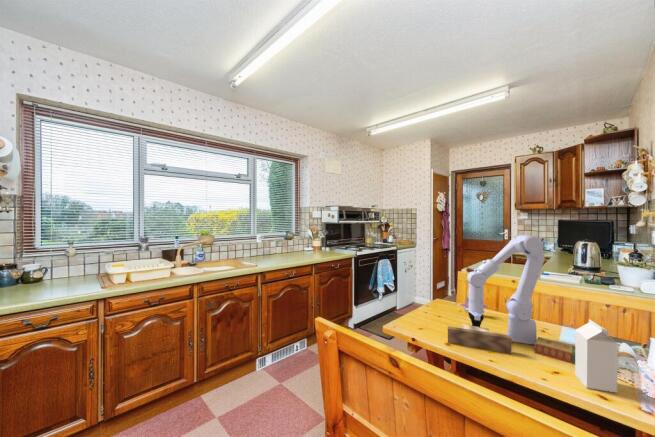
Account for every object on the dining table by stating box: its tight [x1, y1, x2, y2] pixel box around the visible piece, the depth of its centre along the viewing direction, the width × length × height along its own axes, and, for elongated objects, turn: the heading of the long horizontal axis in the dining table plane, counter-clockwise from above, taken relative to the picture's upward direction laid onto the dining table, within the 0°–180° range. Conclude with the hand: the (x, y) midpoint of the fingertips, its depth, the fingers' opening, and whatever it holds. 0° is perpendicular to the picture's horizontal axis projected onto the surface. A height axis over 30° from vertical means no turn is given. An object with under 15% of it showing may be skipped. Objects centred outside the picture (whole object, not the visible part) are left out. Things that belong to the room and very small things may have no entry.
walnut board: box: [447, 325, 513, 355], centre depth 107 cm, size 22×2×6 cm, turn 65°
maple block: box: [461, 323, 490, 333], centre depth 112 cm, size 10×7×5 cm
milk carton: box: [574, 318, 619, 394], centre depth 83 cm, size 7×7×19 cm
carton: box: [534, 336, 575, 366], centre depth 99 cm, size 8×16×4 cm, turn 45°
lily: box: [459, 296, 489, 313], centre depth 140 cm, size 12×12×10 cm
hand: (476, 330), depth 117 cm, fingers closed
